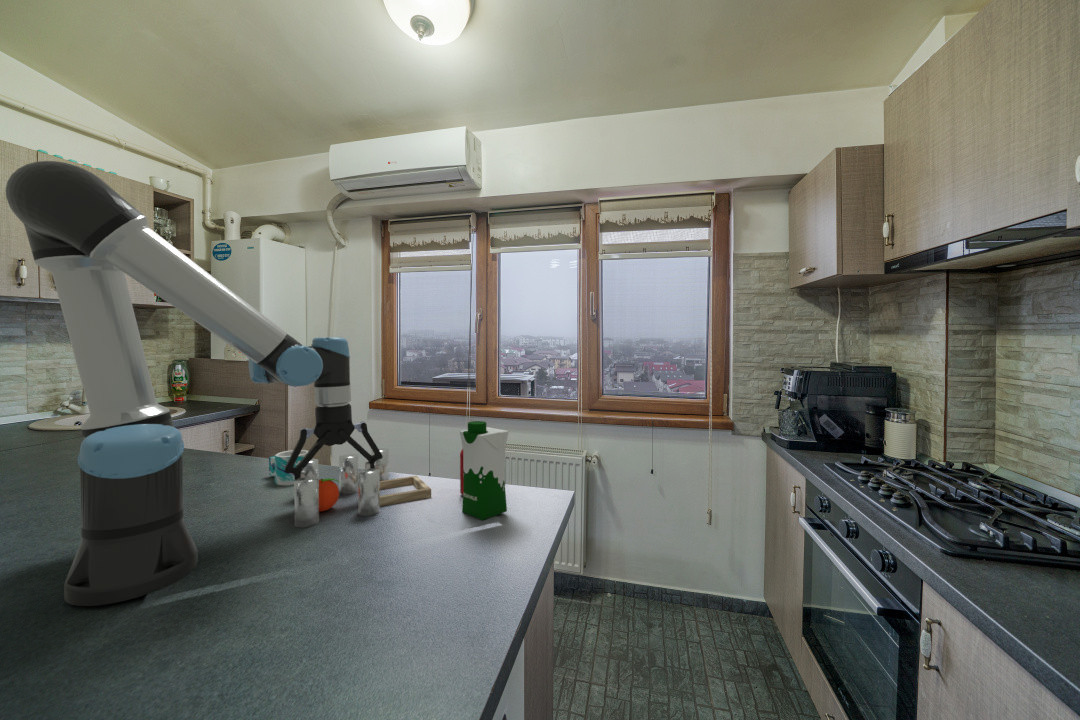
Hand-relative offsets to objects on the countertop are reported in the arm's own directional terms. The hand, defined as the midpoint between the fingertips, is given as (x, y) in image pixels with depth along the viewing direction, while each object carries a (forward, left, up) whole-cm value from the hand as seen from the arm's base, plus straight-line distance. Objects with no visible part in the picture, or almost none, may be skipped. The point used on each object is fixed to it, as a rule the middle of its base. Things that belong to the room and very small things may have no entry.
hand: (337, 495), depth 99 cm
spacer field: (0, -1, -2) cm, 2 cm away
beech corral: (0, -14, -2) cm, 14 cm away
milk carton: (-22, -27, -2) cm, 35 cm away
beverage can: (-10, -30, -2) cm, 31 cm away
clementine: (-3, +3, -2) cm, 4 cm away
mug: (+25, +10, -2) cm, 27 cm away
